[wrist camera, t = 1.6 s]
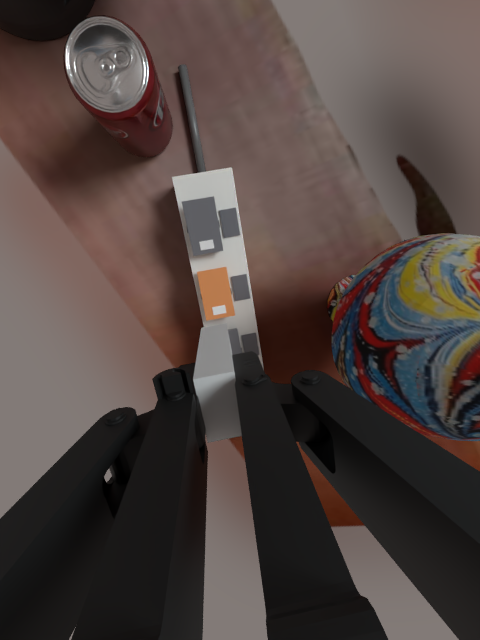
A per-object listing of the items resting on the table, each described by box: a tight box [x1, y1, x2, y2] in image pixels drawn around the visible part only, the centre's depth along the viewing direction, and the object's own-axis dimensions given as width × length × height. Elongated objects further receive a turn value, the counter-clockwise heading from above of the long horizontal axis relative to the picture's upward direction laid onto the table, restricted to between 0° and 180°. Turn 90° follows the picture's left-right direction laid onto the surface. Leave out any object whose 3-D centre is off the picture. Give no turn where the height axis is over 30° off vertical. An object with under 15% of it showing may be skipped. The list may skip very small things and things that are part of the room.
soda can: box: [63, 15, 173, 157], centre depth 29 cm, size 7×7×12 cm
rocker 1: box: [182, 196, 223, 256], centre depth 33 cm, size 6×4×1 cm, turn 9°
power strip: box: [172, 65, 264, 370], centre depth 36 cm, size 40×7×5 cm, turn 9°
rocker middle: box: [197, 267, 235, 321], centre depth 35 cm, size 6×4×1 cm, turn 10°
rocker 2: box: [228, 328, 242, 355], centre depth 37 cm, size 6×4×1 cm, turn 9°
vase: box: [327, 233, 480, 441], centre depth 28 cm, size 19×19×30 cm
